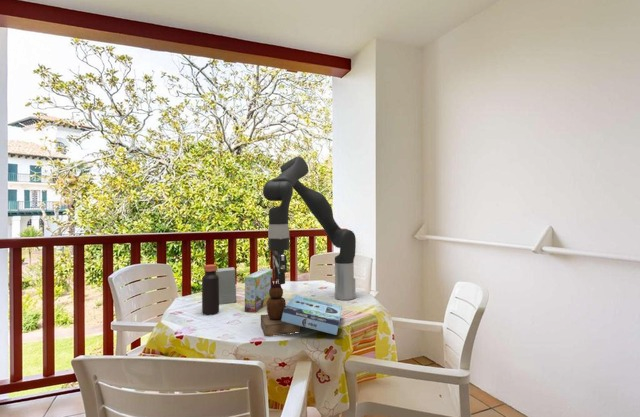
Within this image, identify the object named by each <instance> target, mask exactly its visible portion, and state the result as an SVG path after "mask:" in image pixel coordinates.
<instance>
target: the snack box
mask: <svg viewBox="0 0 640 417" xmlns="http://www.w3.org/2000/svg"><path fill="white" fill-rule="evenodd" d="M273 271H274V268H273V269H272V268H262V269H259V270H258V271H255V272H253V273H250V274H248V275H246V276H244V312H247V313H256V312H257V311H259V310H260V309H262V308H263V307H264V306H267V300H268V299H269V298H271V297H270V295H269V290H270V288H271V277H272V278H273V275H274V272H273Z"/></svg>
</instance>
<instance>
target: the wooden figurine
mask: <svg viewBox="0 0 640 417" xmlns="http://www.w3.org/2000/svg"><path fill="white" fill-rule="evenodd" d="M283 294H284V290H283V288H282V284H279V280H276V278H274V280H273V276H272V277H271V288H270V290H269V295H270V297H271V298H269V299H268V300H267V304H266V313H267V314H268V316H269V317H270V318H271V319H275V320H276V319H281V318H282V314H283V310H284V307H285V306H286V305H287V303H286V299H285V298H284V297H283Z"/></svg>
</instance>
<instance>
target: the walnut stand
mask: <svg viewBox="0 0 640 417" xmlns="http://www.w3.org/2000/svg"><path fill="white" fill-rule="evenodd" d="M281 319H282V318H281ZM281 319H276V320H275V319H271V318H270V317H269V316H268V313H267V314H261V315H260V327H261V330H262V332H263V335H264V336H269V337H273V335H278V336H284V335H283V334H286V335H291V334H290V333H295V332H300V331H301V326H299V325H295V324H291V323H287V322H283V321H281ZM295 334H296V333H295Z"/></svg>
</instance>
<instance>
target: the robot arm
mask: <svg viewBox="0 0 640 417" xmlns="http://www.w3.org/2000/svg"><path fill="white" fill-rule="evenodd" d="M280 172H281V173H280V174H279V175H278V176H277V177H275V178H272V179H270V180H268V181H267V182H265V184H264V186H263V188H262V194H263V197H264V198H265V199H266V200H267V201H269V202H281V204H280V205H278V206H276V207H275V206H274V207H272V208H270V209H269V211H268V229H267V230H268V234H267V235H268V250H269V251H272V267H273V271H274V272H273V275H274V279H275V278H276V281H278V283H279V284H281V285H285V284H286V273H287V272H288V269H287V268H288V267H287V264H288V263H287V255H286V254H285V251H289V250H290V226H289V211H290V210H289V208H290V204H291V201H292V197H293V191H295V192H296V193H297V195H299V197H300V198H301V199H302V201H303V203H304V204H305V206H307V208H308V210H309V211H310V212H311V214H312V215H313V217H315V219H316V220H317V222H318V223H319V224H320V225H321V227H322V228H323V230H324V232H325V233H326V235H327V237H328V238H329V240H330V242H331V243H332V245H333V246H334V247H335V248H337V249H339V254H338V255H336V256H335V257H334V298H335V300H341V301H350V299H351V300H354V299H356V297H357V296H356V294H357V292H356V278H355V276H354V274H355V272H354V271H355V270H354V269H355V268H354V267H355V266H354V264H355V263H354V260H355V257H356V244H357V240H356V234H355V233H354V231H352V230H351V229H343V228H341V227H340V226H339V224H338V223H337V221H336V220H335V219H334V214H333V213H334V212H333V208H332V206H331V204H330V203H329V201H328V199H327V198H326V197H325V196H324V194H323V193H321V192H318V190H314V189H312V188H310V187H308V186H306V185H304V184H303V183H302V182H301V181H300V180H301V179H302V178H304V177H305V176H306V175H308V173H309V165H308V163H307V162H306V160H305V159H304V157H301V156H299V155H298V156H295V157H293V158H290V160H288V161H286V162H285V163H283V164H282V165H281V166H280ZM353 298H354V299H353Z"/></svg>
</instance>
